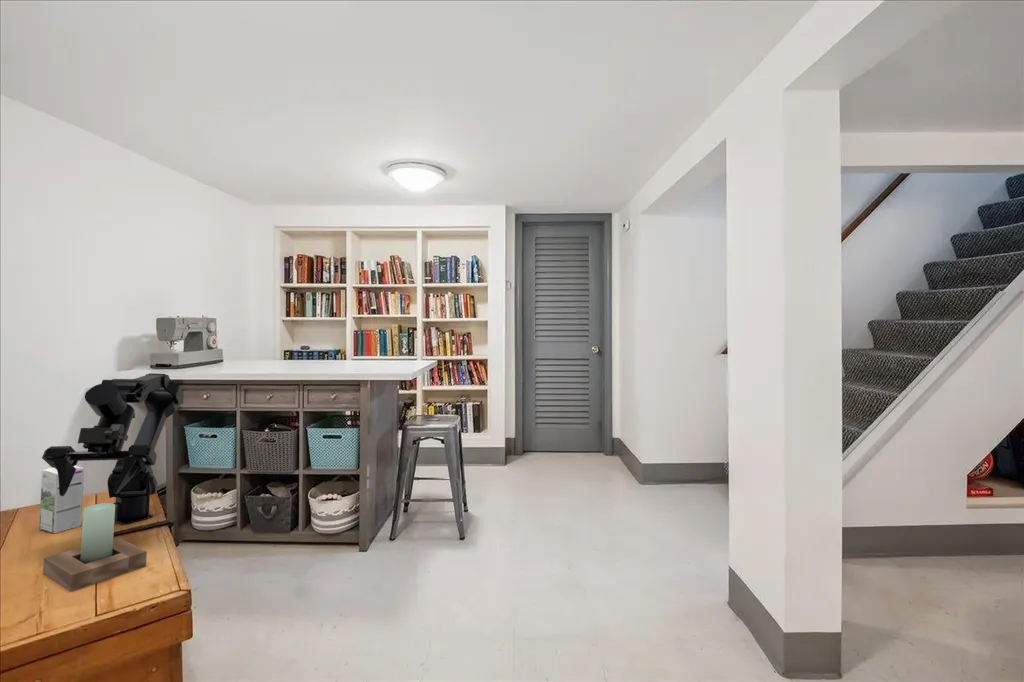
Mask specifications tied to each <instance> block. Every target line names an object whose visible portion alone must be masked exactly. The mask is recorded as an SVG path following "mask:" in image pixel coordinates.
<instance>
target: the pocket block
mask: <svg viewBox="0 0 1024 682" xmlns="http://www.w3.org/2000/svg"><path fill="white" fill-rule="evenodd" d="M147 554H148V551H147V550H145V549H143V548H140V547H139V546H136V545H135V544H132V543H130V542H129V541H126V540H124V539H122V538H121V537H119V536H118V537H113V550H112V556H110V557H107V558H103V559H100V560H97V561H94V562H90V563H87V564H84V563H82V562H81V561H80V557H81V547H78V548H75V549H72V550H71V549H70V550H67V551H64V552H61V553H57V554H54V555H50V556H46V557H43V565H42V575H44V576H45V577H47V578H49V579H50V580H52V581H53V582H55V583H56V584H58V585H59V586H61V587H62V588H64V589H65V590H67V591H68V592H70V593H71V592H74V591H77V590H80V589H83V588H86V587H90V586H92V585H95V584H98V583H101V582H103V581H107V580H110V579H113V578H117V577H118V576H121V575H124V574H127V573H129V572H133V571H136V570H139V569H142V568H144V567H147V556H148V555H147Z"/></svg>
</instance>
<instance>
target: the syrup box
mask: <svg viewBox="0 0 1024 682" xmlns="http://www.w3.org/2000/svg"><path fill="white" fill-rule="evenodd" d="M73 467H74V468H75V469H76V471H75V473H74V476H73V478H72V480H71V483H70V485H69V488H68V490H67V492H66V493H65V495H64V496H60V494H59V477H58V472H57V470H56V469H55V468H52V467H48V468H46V469H45V468H44V469H42V470H41V487H40V504H39V505H40V507H39V527H38V528H39V529H38V530H40V531H44V532H47V533H51V534H58V532H59V533H62V532H61V531H63V532H65V531H64V530H66V531H69V530H68V529H70V530H72V529H71V528H73V529H77V528H79V527H82V520H83V497H84V495H83V493H84V469H85V468H84V467H82V466H78V465H75V466H73Z"/></svg>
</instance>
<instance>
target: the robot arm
mask: <svg viewBox="0 0 1024 682" xmlns="http://www.w3.org/2000/svg"><path fill="white" fill-rule="evenodd" d="M84 400H85V401H86V404H88V406H89V407H90V408H91V410H92V411H93V412H94V414H95V415H96V416H98V417H100V418H99V420H98V423H97V424H96V425H93V427H81V428H80V431H79V434H78V438H77V439H78V440H77V444H78V445H79V444H82V447H83V449H87V451H76V450H75V449H74V448H73V447H72V446H71V445H65V446H64V445H59V446H58V445H57V446H56V445H55V446H53V445H52V446H49V447H47V448H46V449H45V450H44V452H43V455H42V457H41V459H42V460H43V461H45V463H46V464H48V465H49V466H50V468H55V469H56V470H57V472H58V477H59V494H60V496H64V495H65V493H66V492H67V490H68V488H69V485H70V483H71V480H72V478H73V476H74V473H75V471H76V469H75V468H74V467H73V466H78V465H77V464H78V462H83V461H84V462H85V461H116V463H115V466H114V468H113V469H112V471H111V473H110V474H109V476H108V478H107V491H108V496H109V497H108V498H110V499H112V498H115V502H112V503H113V504H115V518H114V522H117V523H119V524H121V525H127V524H131V523H134V522H138V521H141V520H145V519H146V520H147V519H150V518H152V517H153V514H151V513H150V501H151V500H150V499H151V495H155V494H157V489H158V481H157V479H156V477H155V475H154V470H153V467H152V466H154V465H155V464H156V461H157V453H156V451H155V449H156V445H157V443H158V441H159V438H160V436H161V434H162V430H163V427H164V425H165V422H166V420H167V418H169V417H170V416H172V415H173V414H175V413H176V412H177V410H178V408H179V406H180V405H181V404H182V402H183V392H182V390H181V387H180V385H178V384H177V383H176V382H174V381H173V380H171V378H170V376H169V374H166V373H154V372H153V373H152V372H150V373H147V374H145V375H142V376H139V377H136V378H132V379H130V378H129V379H127V378H125V379H124V378H112V379H102V382H101V383H98V384H96V385H93V386H92V387H90V388H89V389H88V390H87V391H86V392H85V394H84ZM142 402H143V403H144V406H145V408H146V411H147V413H146V415H145V417H144V419H143V421H142V423H141V426H140V429H139V431H138V433H137V436H136V438H135V440H134V443H133V444H131V445H130V446H129V448H128V450H122V449H123V446H124V445H125V442H127V441H128V439H129V435H128V432H129V429H130V426H131V423H132V420H133V419H135V418H136V413H135V411H136V410H135V409H134V406H132V405H131V404H141V403H142ZM130 522H131V523H130Z"/></svg>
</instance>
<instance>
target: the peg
mask: <svg viewBox="0 0 1024 682" xmlns="http://www.w3.org/2000/svg"><path fill="white" fill-rule="evenodd" d="M113 503H114V502H112V503H111V502H105V503H104V502H102V503H96V504H95V503H94V504H92V505H89V506H88V505H87V506H85V507H84V508H83V509H82V525H81V527H82V529H81V541H80V543H81V545H80V548H81V557H80V561H81V562H82V563H84V564H87V563H90V562H94V561H97V560H100V559H103V558H107V557H110V556H112V550H113V538H114V532H115V531H114V530H115V521H114V518H115V504H113Z"/></svg>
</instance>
